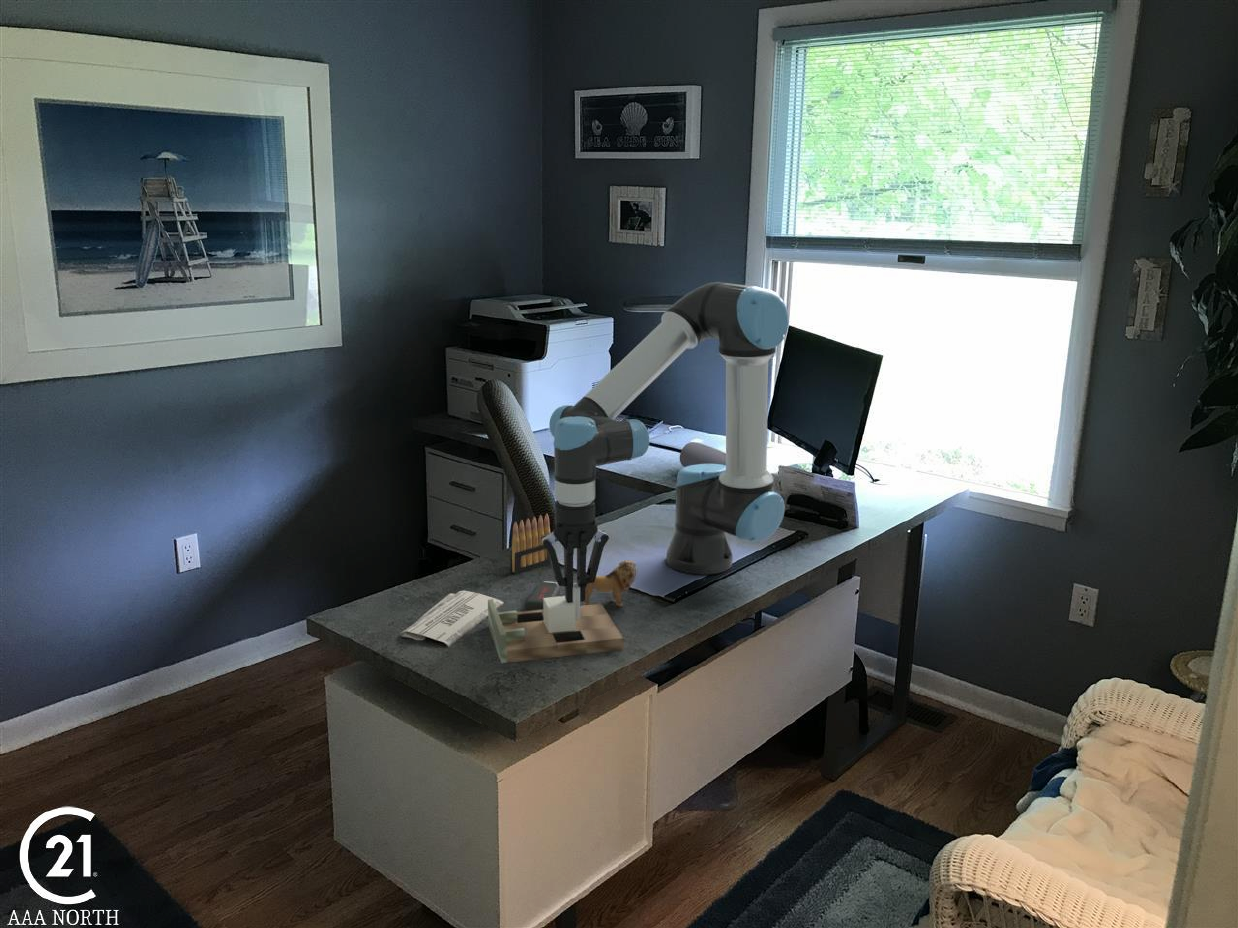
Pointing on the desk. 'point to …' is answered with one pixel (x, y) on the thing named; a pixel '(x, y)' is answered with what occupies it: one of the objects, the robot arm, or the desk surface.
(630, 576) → the lion figurine
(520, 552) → the ammunition clip
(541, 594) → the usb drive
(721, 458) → the grey long tapered piece
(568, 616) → the cream block
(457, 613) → the newspaper
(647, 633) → the desk surface
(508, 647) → the trap deck
